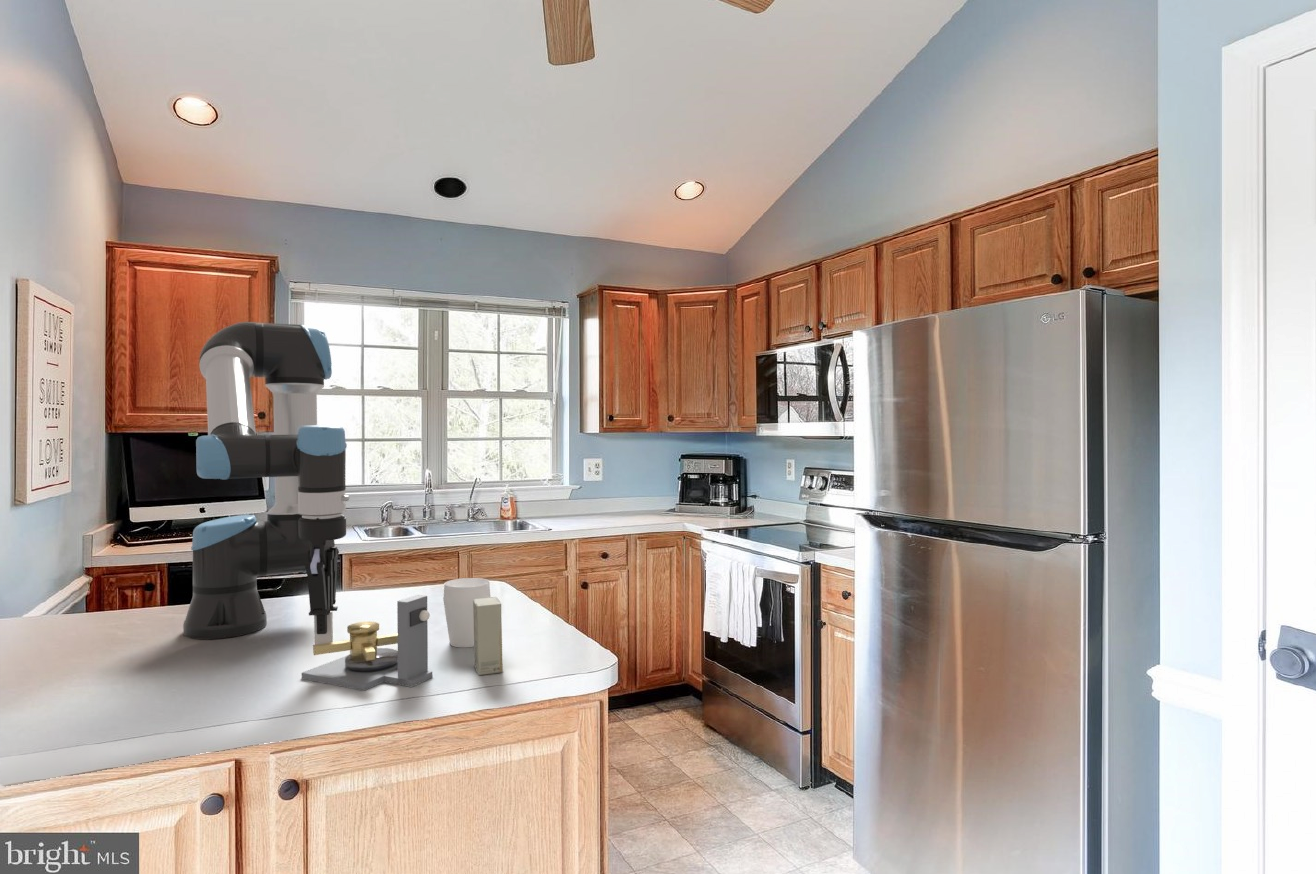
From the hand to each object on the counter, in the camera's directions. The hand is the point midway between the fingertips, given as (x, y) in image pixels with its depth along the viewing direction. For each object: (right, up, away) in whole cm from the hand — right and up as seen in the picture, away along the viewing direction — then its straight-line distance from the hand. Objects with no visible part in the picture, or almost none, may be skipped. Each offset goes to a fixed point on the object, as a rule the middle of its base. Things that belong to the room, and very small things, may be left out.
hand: (323, 650), depth 130 cm
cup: (+20, -4, +19) cm, 28 cm away
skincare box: (+28, -4, +3) cm, 28 cm away
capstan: (+7, -3, +2) cm, 8 cm away
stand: (+9, -4, 0) cm, 10 cm away
